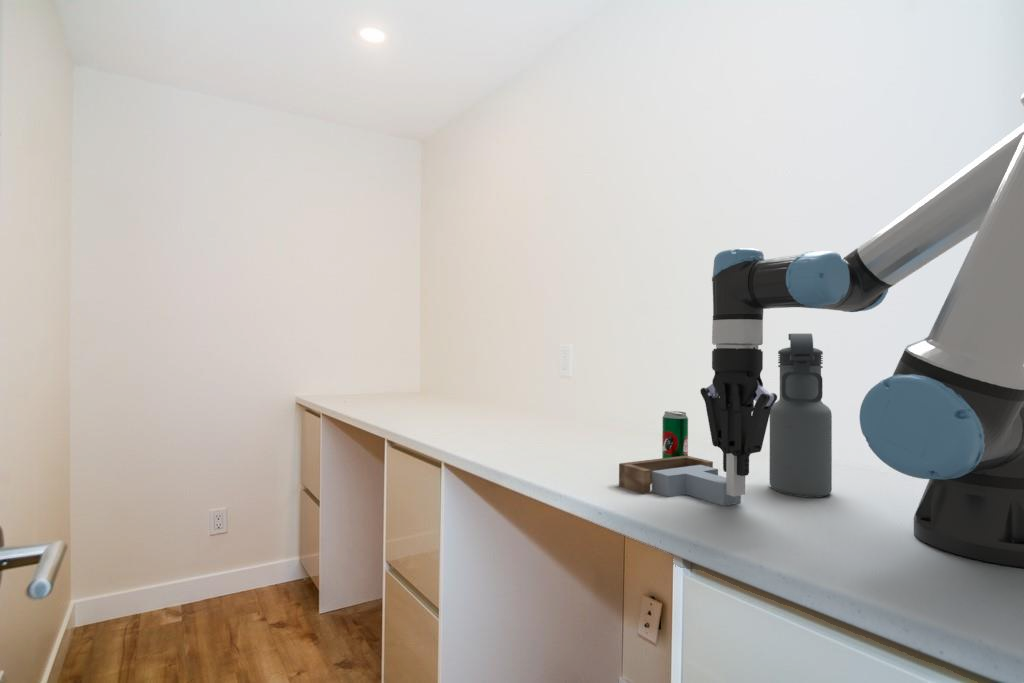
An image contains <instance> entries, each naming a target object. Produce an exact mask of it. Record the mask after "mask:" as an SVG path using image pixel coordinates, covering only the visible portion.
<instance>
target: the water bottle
mask: <svg viewBox="0 0 1024 683" xmlns="http://www.w3.org/2000/svg"><path fill="white" fill-rule="evenodd" d="M788 340H789V342H790V343H789V344H790V345H789V346H790V347H789V346H788V347H785V348H784V347H783V348H782V349H780V350H778V352H777V356H778V359H777V361H778V362H777V364H778V366H777V367H778V368H779V399H777V400H776V401H775V403H774V404H773V406H772V407H771V410H770V415H769V485H770V487H771V488H772V489H773V490H774V491H776V492H779V493H782V494H785V495H790V496H794V497H795V496H796V497H803V498H821V497H825V496H828V495H830V494H831V493H832V489H833V488H832V486H833V484H832V481H833V478H832V477H833V476H832V472H833V470H832V469H833V462H832V461H833V459H832V458H833V454H832V453H833V451H832V450H833V449H832V448H833V445H832V443H833V442H832V440H833V438H832V437H833V429H832V428H833V427H832V426H833V425H832V424H833V421H832V418H833V417H832V411H831V409H830V407H829V406H827V405H826V404H825V403H823V402H822V398H823V377H822V368H823V361H824V360H823V359H824V358H823V354H824V352H823V351H822V350H820V349H819V348H816V347H814V340H813V334H812V333H788Z"/></svg>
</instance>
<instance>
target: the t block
mask: <svg viewBox="0 0 1024 683" xmlns="http://www.w3.org/2000/svg"><path fill="white" fill-rule="evenodd" d="M651 492H653V493H656V494H658V495H659V494H660V495H662V496H665V497H674V496H680V495H688V496H691V497H694V498H697V499H701V500H704V501H707V502H709V503H713V504H716V505H719V506H722V507H724V506H731V505H736V504H741V498H742V497H741V496H742V495H740V496H734V497H733V496H730V495H727V494H726V476H722V475H719V469H718V468H716V467H715V468H714V467H713V468H712V467H708V466H704V465H695V466H687V467H680V468H672V469H664V470H657V471H652V483H651Z"/></svg>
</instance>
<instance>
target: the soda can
mask: <svg viewBox="0 0 1024 683" xmlns="http://www.w3.org/2000/svg"><path fill="white" fill-rule="evenodd" d="M661 437H662V440H661V441H662V444H661V446H662V450H661V451H662V455H661V456H662V457H661V458H670V457H678V456H689V418H688V416H687V412H684V411H679V410H678V411H677V410H675V411H674V410H669V411H666V410H665V411H664V414H663V416H662V436H661Z"/></svg>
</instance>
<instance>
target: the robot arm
mask: <svg viewBox="0 0 1024 683" xmlns="http://www.w3.org/2000/svg"><path fill="white" fill-rule="evenodd" d="M1020 102H1021V104H1022V106H1023V107H1024V92H1023V93H1022V95H1021V97H1020ZM975 233H976V234H975ZM974 234H975V237H974V239H973V241H972V243H971V246H970V247H969V250H968V252H967V254H966V256H965V258H964V260H963V263H962V264H961V267H960V269H959V271H958V273H957V275H956V277H955V279H954V281H953V283H952V285H951V288H950V290H949V292H948V294H947V296H946V298H945V300H944V303H943V305H942V307H941V308H940V311H939V313H938V315H937V317H936V319H935V321H934V323H933V326H931V327H932V328H931V329H930V332H929V334H928V336H927V337H924V338H923V339H921V340H918V341H915V342H913V343H910V344H907V345H906V346H905V348H904V351H903V353H902V355H901V356H900V358H899V361H898V363H897V364H896V367H895V369H894V371H893V374H892V375H891V376H888V377H887V378H885V379H882V380H880V381H879V382H878V383H876V384H875V385H874V386H872V387H871V388H870V389H869V391H868V392H866V394H865V396H864V398H863V400H862V402H861V405H860V409H859V424H860V425H859V426H860V430H861V433H862V435H863V436H864V438H865V442H866V443H867V445H868V447H869V449H870V450H871V451H872V452H873V454H874V455H875V456H876V457H877V458H878V459H879V460H880V461H881V462H883V463H884V464H886V466H888V467H889V468H890V469H893V470H894V471H897V472H899V473H901V474H903V475H906V476H909V477H912V478H916V479H922V480H928V482H927V484H926V487H925V489H924V492H923V494H922V495H921V496H922V497H921V498H920V501H919V504H918V506H917V508H916V511H915V513H914V515H913V516H914V517H913V534H914V536H915V537H916V538H917V539H919V540H920V541H921V542H924V543H925V544H928V545H930V546H932V547H934V548H937V549H940V550H942V551H945V552H949V553H951V554H954V555H955V554H956V555H958V556H962V557H966V558H970V559H974V560H978V561H982V562H988V563H993V564H997V565H1003V566H1004V565H1005V566H1013V567H1020V568H1024V123H1023V124H1022V125H1021V126H1019V127H1018V128H1016V129H1015V130H1013V131H1012V132H1011V133H1010V134H1008V135H1007V136H1005V137H1004V138H1003V139H1002V140H1001V141H999V142H997V143H996V144H995V145H993V146H992V147H991V148H989V149H988V150H987V151H985V152H984V153H983V154H981V155H980V156H979V157H978V158H976V159H975V160H974V161H971V163H970V164H968V165H967V166H965V167H964V168H963V169H961V170H960V171H959V172H957V173H956V174H955V175H953V176H952V177H951V178H949V179H948V180H946V181H945V182H944V183H943V184H941V185H939V186H938V187H937V188H936V189H934V190H933V191H932V192H931V193H929V194H927V195H926V196H924V197H923V198H922V199H921V200H919V201H918V202H917V203H916V204H914V205H913V206H911V207H910V208H908V210H906V211H905V212H903V213H902V214H901V215H899V216H898V217H897V218H896V219H894V220H893V221H891V222H890V223H888V225H886V226H885V227H883V228H882V229H881V230H879V231H877V233H875V234H874V235H872V236H871V237H869V238H868V239H867V240H866V241H865V242H863V243H862V244H860V245H859V246H858V247H856V248H855V249H854V250H853V251H851V252H850V253H848V254H847V255H846V256H844V257H841V256H842V255H841V254H839V253H838V252H836V251H832V250H825V251H806V252H805V253H800V254H792V255H787V256H782V257H775V258H768V259H765V257H764V253H763V251H761V250H760V249H757V248H737V249H734V248H733V249H725V250H722V251H720V252H718V253H717V254H716V255H715V256H714V259H713V268H712V277H711V282H712V303H713V304H712V311H713V312H712V324H711V325H712V328H711V329H712V334H711V335H712V336H711V343H712V345H713V346H715V348H713V349H712V351H711V368H712V370H713V371H714V376H713V378H712V383H711V384H710V385H709V386H707V387H702V388H700V394H701V396H702V399H703V400H704V404H705V408H706V409H705V410H706V415H707V420H708V425H709V431H710V432H709V433H710V436H711V442H712V443H711V444H712V445H713V446H714V447H718V448H719V450H720V449H721V451H722V456H723V457H722V458H723V459H722V469H723V472H725V477H726V494H727V495H730V496H733V497H734V496H740V495H741V496H745V495H746V476H749V474H750V456H751V454H755V453H756V454H757V453H760V452H761V451H762V448H763V445H764V439H765V436H766V431H767V427H768V423H769V420H770V410H771V407H772V406H773V404H774V403H776V402H777V401H778V394H776V393H774V392H770V391H768V390H767V389H766V388H765V387H764V382H763V380H762V378H761V373H762V371H763V366H764V365H763V364H764V363H763V360H764V358H763V357H764V353H763V352H764V351H763V350H762V349H761V348H760V349H759V346H762V345H763V344H764V342H763V341H764V339H763V336H764V334H763V333H764V328H763V327H764V309H768V310H769V309H781V308H803V309H804V308H805V309H816V310H817V309H820V310H830V311H831V310H832V311H841V312H844V313H845V312H847V313H857V312H863V311H864V312H865V311H869V310H872V309H874V308H876V307H877V306H879V305H880V304H881V303H882V302H883V301H884V300H885V298H886V296H887V294H888V293H889V289H890V288H892V287H893V286H895V285H896V284H898V283H899V282H901V281H903V280H904V279H907V277H909V276H910V275H912V274H914V273H915V272H916V271H918V270H919V269H921V268H923V267H924V266H926V265H927V264H930V262H932V261H933V260H935V259H936V258H938V257H940V256H941V255H942V254H943V255H944V254H945V253H946V252H947V251H949V250H951V249H952V248H954V247H955V246H957V245H958V244H960V243H961V242H963V241H965V240H967V239H968V238H969V237H971V236H972V235H974Z"/></svg>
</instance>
